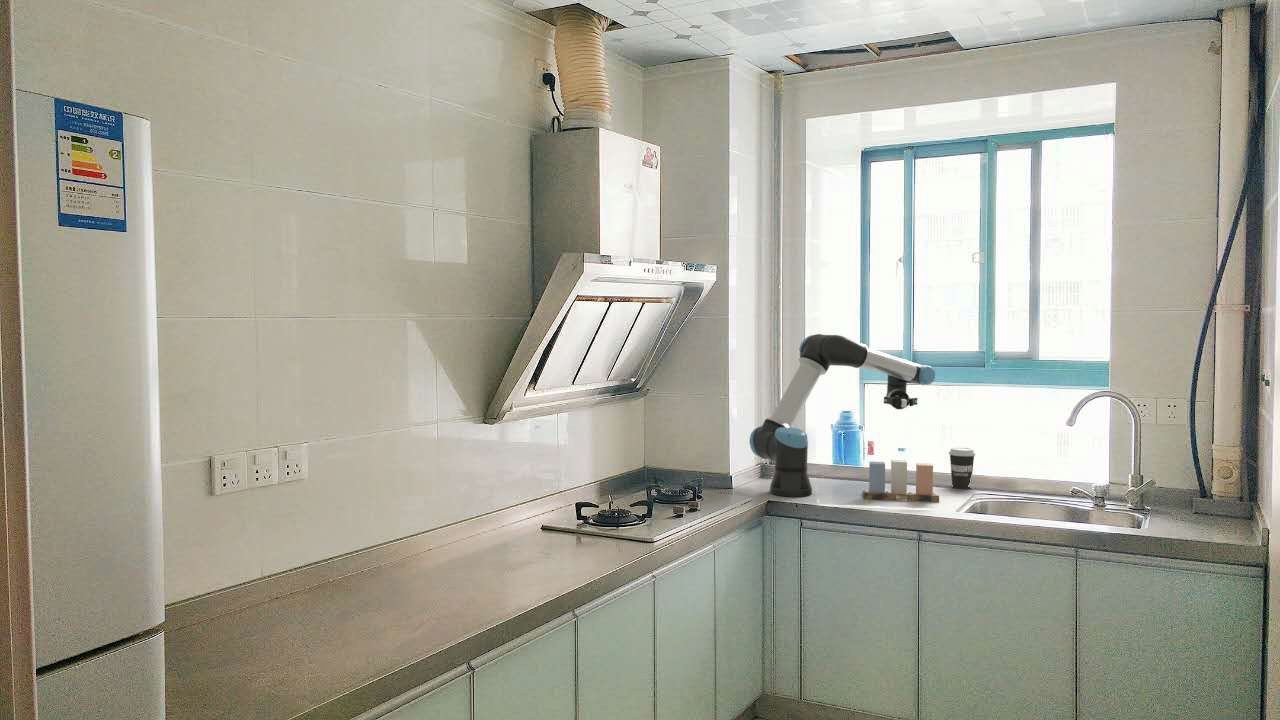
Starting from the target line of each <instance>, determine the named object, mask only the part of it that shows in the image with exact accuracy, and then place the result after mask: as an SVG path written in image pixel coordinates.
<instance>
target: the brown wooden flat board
mask: <svg viewBox="0 0 1280 720" xmlns="http://www.w3.org/2000/svg"><path fill="white" fill-rule="evenodd" d="M861 492H862V493H861V494H862V496H863V499H864V500H868V501H869V500H870V501H891V502H892V501H895V502H919V503H920V502H921V503H940V494H936V493H935V492H933V495H922V494H916V492H907V494H895V493H891V491H886V490H885V493H869V490H868V491H867V490H862V491H861Z"/></svg>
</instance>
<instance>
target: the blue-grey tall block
mask: <svg viewBox="0 0 1280 720" xmlns="http://www.w3.org/2000/svg"><path fill="white" fill-rule="evenodd" d="M868 464H869V465H868V466H869V467H868V469H869V471H868V473H869V474H868V476H869V477H868V479H869V480H868V492H869V493H885V492H886V462H884V461H869V463H868Z"/></svg>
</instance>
